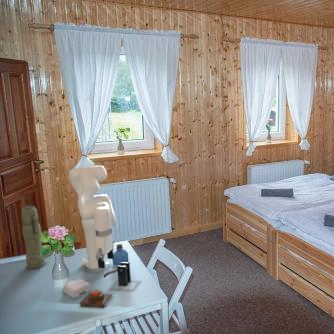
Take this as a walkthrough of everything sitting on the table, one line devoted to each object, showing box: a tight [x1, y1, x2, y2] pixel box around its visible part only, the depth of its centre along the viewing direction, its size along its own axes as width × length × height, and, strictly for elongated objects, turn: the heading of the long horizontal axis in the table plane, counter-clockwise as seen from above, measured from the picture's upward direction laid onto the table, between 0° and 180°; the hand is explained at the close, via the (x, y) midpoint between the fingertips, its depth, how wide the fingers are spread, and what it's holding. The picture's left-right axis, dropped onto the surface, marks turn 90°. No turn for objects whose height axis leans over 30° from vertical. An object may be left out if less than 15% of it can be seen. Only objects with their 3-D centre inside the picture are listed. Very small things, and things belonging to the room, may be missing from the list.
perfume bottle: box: [111, 243, 130, 266], centre depth 218 cm, size 6×6×12 cm
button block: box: [79, 290, 113, 309], centre depth 181 cm, size 11×9×4 cm
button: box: [91, 289, 101, 297], centre depth 181 cm, size 4×4×2 cm
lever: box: [103, 264, 128, 278], centre depth 195 cm, size 12×5×2 cm, turn 83°
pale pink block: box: [63, 278, 92, 298], centre depth 191 cm, size 5×9×15 cm
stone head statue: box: [20, 204, 46, 270], centre depth 216 cm, size 9×12×35 cm
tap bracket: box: [116, 261, 132, 287], centre depth 195 cm, size 12×9×12 cm
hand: (106, 263), depth 196 cm, fingers open, 9 cm apart
